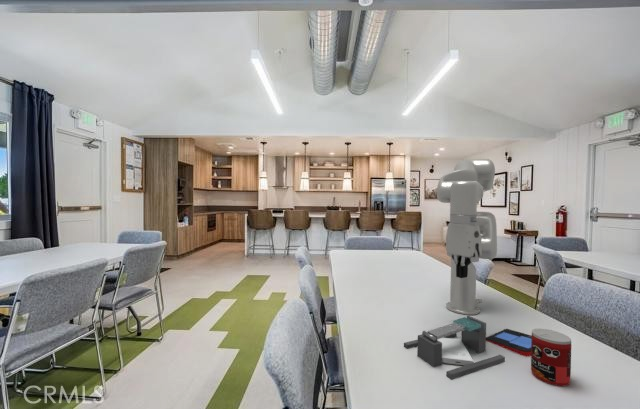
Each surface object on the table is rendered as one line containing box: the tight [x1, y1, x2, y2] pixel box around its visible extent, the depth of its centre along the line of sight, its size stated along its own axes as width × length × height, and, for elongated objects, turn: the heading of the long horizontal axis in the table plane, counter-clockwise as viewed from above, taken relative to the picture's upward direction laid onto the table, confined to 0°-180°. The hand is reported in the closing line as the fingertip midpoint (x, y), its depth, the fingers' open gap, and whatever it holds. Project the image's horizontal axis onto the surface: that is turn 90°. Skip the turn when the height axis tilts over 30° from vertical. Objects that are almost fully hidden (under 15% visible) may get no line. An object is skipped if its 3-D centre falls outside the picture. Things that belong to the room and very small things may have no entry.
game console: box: [486, 328, 532, 357], centre depth 91 cm, size 14×13×2 cm
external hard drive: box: [438, 338, 475, 366], centre depth 83 cm, size 2×8×12 cm
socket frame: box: [403, 315, 506, 380], centre depth 83 cm, size 21×18×9 cm
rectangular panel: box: [421, 316, 481, 342], centre depth 83 cm, size 18×6×1 cm, turn 114°
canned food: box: [530, 328, 572, 387], centre depth 73 cm, size 8×8×11 cm
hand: (461, 276), depth 91 cm, fingers closed
